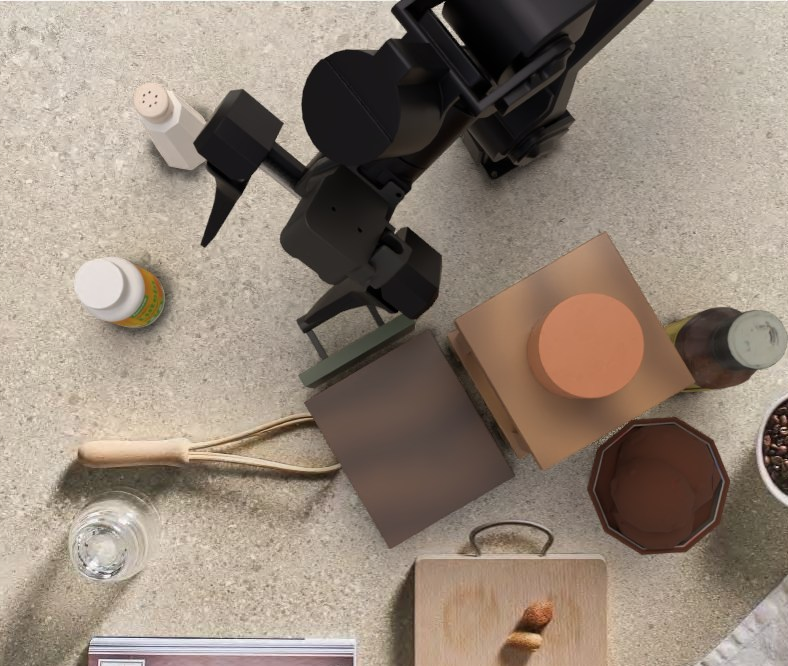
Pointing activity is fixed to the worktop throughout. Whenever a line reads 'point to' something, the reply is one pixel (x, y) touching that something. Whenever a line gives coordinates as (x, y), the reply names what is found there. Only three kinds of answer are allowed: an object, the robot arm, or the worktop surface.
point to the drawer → (351, 347)
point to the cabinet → (409, 438)
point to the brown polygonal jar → (658, 485)
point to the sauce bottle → (727, 345)
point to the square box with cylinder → (515, 379)
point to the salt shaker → (170, 124)
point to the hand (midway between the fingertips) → (256, 282)
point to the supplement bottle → (119, 292)
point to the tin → (586, 347)
